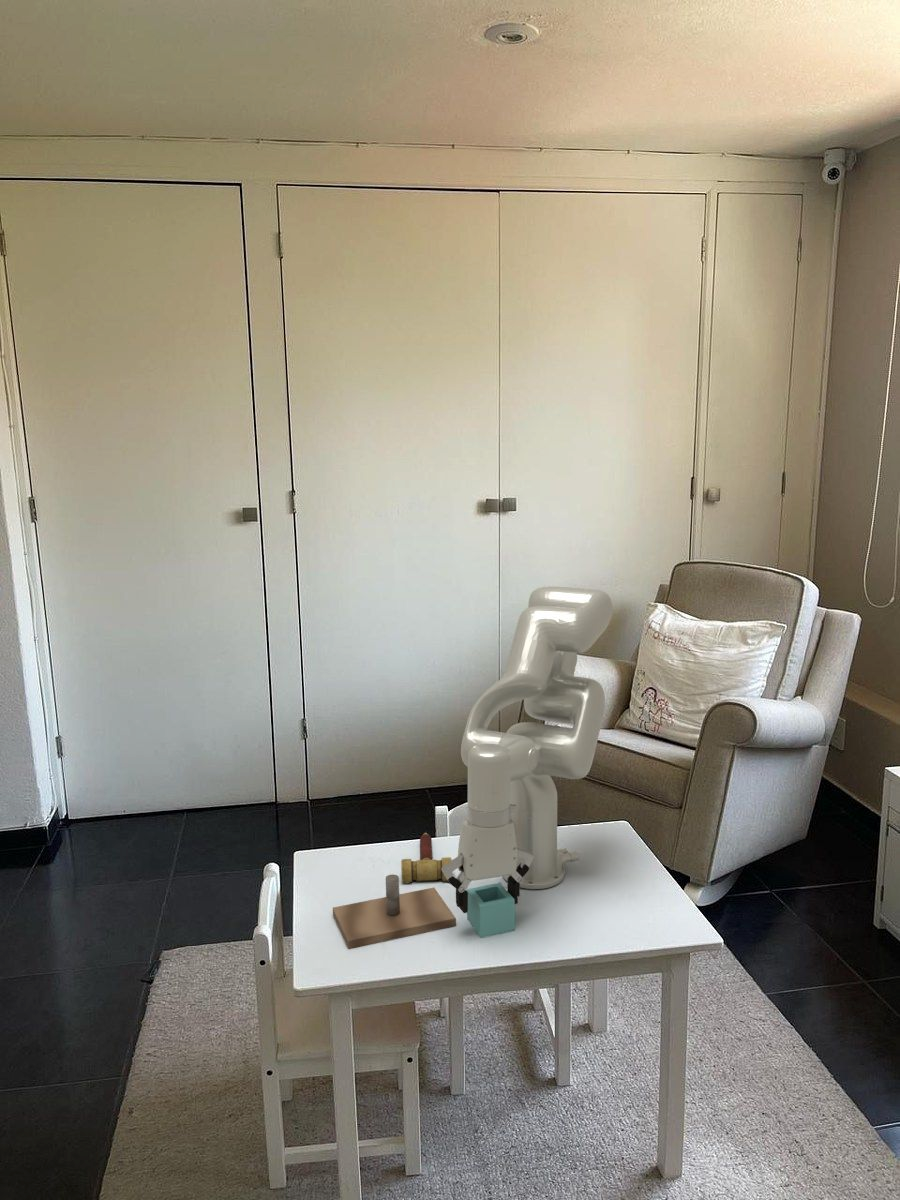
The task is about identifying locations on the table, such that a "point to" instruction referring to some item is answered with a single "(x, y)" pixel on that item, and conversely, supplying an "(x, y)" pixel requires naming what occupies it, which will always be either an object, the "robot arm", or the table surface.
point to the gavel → (424, 864)
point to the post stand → (392, 915)
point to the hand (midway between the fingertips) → (487, 905)
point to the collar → (491, 910)
